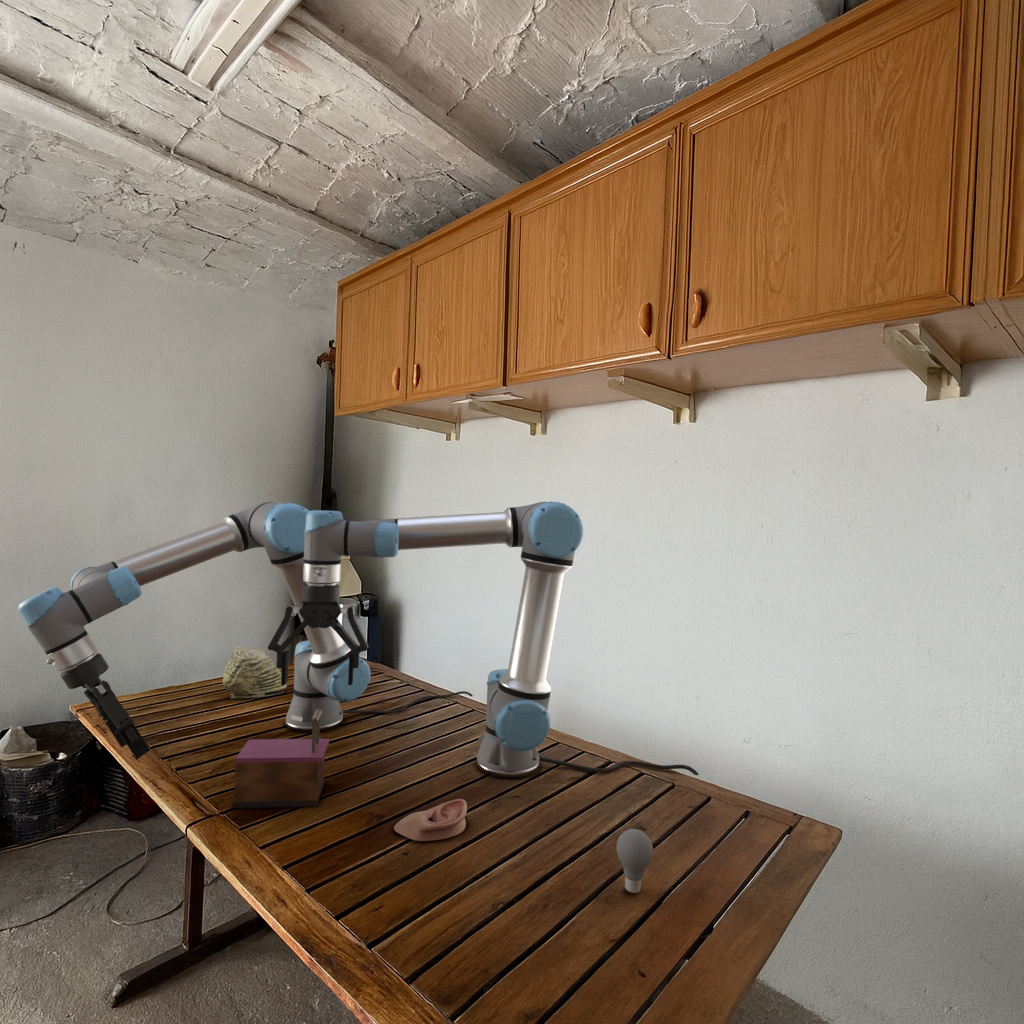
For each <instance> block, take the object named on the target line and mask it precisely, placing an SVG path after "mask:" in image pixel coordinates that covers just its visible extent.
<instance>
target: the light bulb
mask: <svg viewBox="0 0 1024 1024" xmlns="http://www.w3.org/2000/svg"><path fill="white" fill-rule="evenodd" d="M615 849H616V854H617V857H618V859H619V861H620V863H621V865H622V867H623V873H624V874H623V875H624V876H625V878H624V888H625V890H627V891H628V892H630V893H634V894H635V893H639V892H640V891H641V889H642V887H641V886H642V879H643V877H644V875H645V871H646V868H647V867H648V866H649V864H650V863H651V861H652V859H653V855H654V847H653V843H652V841H651V838H649V836H648V835H647V834H646V833H645V832H643V831H642V830H641V829H636V828H629V829H627V830H625V831H623V832H622V833H621V834H620V835H619V837H618V839H617V841H616V847H615Z"/></svg>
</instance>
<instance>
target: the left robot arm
mask: <svg viewBox="0 0 1024 1024" xmlns="http://www.w3.org/2000/svg"><path fill="white" fill-rule="evenodd" d="M310 511H311V510H309V509H308V508H306V507H304V506H302V505H299V504H297V503H294V502H276V501H265V502H260V503H257V504H255V505H251V506H250V507H247V508H245V509H242V510H240V511H237V512H235V513H232V514H229V515H227V516H225V517H224V518H223V520H222V522H220V523H216V524H214V525H211V526H208V527H205V528H202V529H199V530H197V531H194V532H191V533H188V534H186V535H183V536H179V537H176V538H174V539H171V540H168V541H165V542H163V543H160V544H156V545H154V546H152V547H148V548H145V549H142V550H140V551H138V552H134V553H131V554H128V555H126V556H122V557H120V558H117V559H114V560H111V561H109V562H106V563H102V564H100V565H97V566H86V567H83V568H81V569H79V570H78V571H76V572H75V573H74V575H73V576H71V580H70V590H68V591H63V590H61V589H60V587H58V586H54V587H51V588H48V589H46V590H43V591H42V592H39V593H37V594H35V595H33V596H31V597H29V598H27V599H24V600H23V601H21V602H20V603H19V605H18V606H17V611H18V613H19V614H20V616H21V618H22V620H23V622H24V623H25V625H26V627H27V628H28V630H29V631H30V632H31V634H32V636H33V637H34V639H36V642H37V643H38V644H39V646H40V647H41V649H42V650H43V652H44V653H45V655H47V657H48V658H49V659H47V660H46V663H47V665H53V666H54V668H55V669H56V671H57V672H61V673H60V674H59V675H60V678H61V680H62V681H63V682H64V684H65V685H66V687H67V688H68V689H69V690H74V689H78V688H80V687H82V688H83V690H84V691H83V694H84V695H85V697H86V698H87V699H88V700H89V702H90V703H91V704H92V705H93V707H94V708H95V710H96V712H97V714H98V716H99V717H100V718H101V719H102V721H104V723H105V725H106V726H107V728H108V730H109V731H110V732H111V734H112V736H113V738H114V739H115V740H116V742H117V743H118V746H120V747H121V748H123V747H126V746H127V747H128V750H129V751H130V752H131V753H132V756H133V757H134V758H135V759H136V760H138V759H140V758H141V757H143V756H144V755H146V754H147V753H148V752H150V751H151V748H150V747H149V745H148V744H147V742H146V741H145V739H144V738H143V736H142V734H141V733H140V731H139V730H138V728H137V727H136V726H135V723H134V719H133V718H132V717H131V716H130V715H129V713H128V712H127V710H126V709H125V708H124V706H123V705H122V703H121V702H120V700H119V699H118V697H117V696H116V694H115V692H114V691H113V690H112V687H111V685H110V683H109V682H108V681H106V680H105V679H103V680H102V679H101V678H100V676H101V675H103V674H104V673H106V672H107V671H108V670H109V664H108V662H107V661H106V660H105V657H104V656H103V654H101V653H100V652H98V651H99V648H98V646H97V645H96V642H94V639H93V638H92V637H91V635H90V633H89V632H88V631H87V630H86V628H85V626H86V625H89V624H90V623H92V622H95V621H96V620H98V619H101V618H102V617H104V616H107V615H108V614H110V613H112V612H114V611H116V610H118V609H121V608H122V607H124V606H129V604H130V603H132V602H133V601H135V600H137V599H139V598H140V596H142V588H141V587H142V586H145V585H147V584H150V583H153V582H155V581H157V580H161V579H163V578H166V577H168V576H171V575H173V574H177V573H178V572H179V573H180V572H182V571H183V570H187V569H190V568H192V567H194V566H197V565H200V564H202V563H205V562H207V561H210V560H213V559H216V558H219V557H220V556H224V555H226V554H229V553H231V552H234V551H235V552H237V553H243V552H245V551H248V550H251V549H257V548H265V551H266V554H267V556H268V558H269V561H270V563H271V565H272V566H274V567H277V568H278V569H280V571H281V574H282V576H283V579H284V582H285V584H286V587H287V589H288V591H289V594H290V597H291V600H292V602H293V604H294V605H293V606H295V607H301V606H302V595H303V586H304V584H306V582H304V581H303V569H304V539H305V533H304V531H305V526H306V515H307V513H308V512H310ZM297 615H298V618H299V620H300V623H302V622H303V621H304V619H303V617H302V616H301V615H300V613H297ZM337 620H338V621H339V622H340V620H339V617H337ZM303 630H304V634H305V635H306V638H307V640H303V641H300V642H297V644H296V645H295V650H294V655H293V656H294V672H293V695H292V696H293V697H292V699H291V702H290V704H289V708H288V711H287V713H286V715H285V726H286V728H287V729H289V730H291V731H294V732H295V731H296V732H301V733H312V724H311V720H312V717H313V715H314V713H315V711H316V710H317V709H321V710H322V714H321V716H320V732H325V731H329V730H332V729H335V728H337V727H339V726H340V725H342V723H343V722H344V714H380V715H381V714H382V715H383V714H385V715H387V714H395V713H399V712H402V711H404V710H405V709H406V708H408V707H410V706H413V705H414V704H415V703H417V702H420V701H423V700H427V699H439V698H450V697H453V696H457V695H463V694H464V695H467V696H469V697H473V696H474V695H473V694H472V693H471V692H469V691H464V690H463V691H456V692H453V693H448V694H438V695H437V694H435V695H427V696H422V697H418V698H416V699H414V700H412V701H411V702H409V703H407V704H405V705H403V706H402V707H399V708H396V709H393V710H366V709H365V710H364V709H363V710H360V709H359V710H352V709H351V710H343V709H342V706H341V703H350V702H353V701H354V700H356V699H358V698H359V697H361V695H362V694H363V693H364V692H365V691H366V690H367V688H368V684H369V683H370V681H371V669H370V665H369V664H368V663H367V661H365V659H364V658H362V657H359V666H358V668H354V672H353V683H352V685H348V676H349V654H350V652H351V649H350V648H349V647H348V646H347V644H346V643H345V642H344V641H343V640H342V638H341V637H340V636H339V635H338V634H337V632H336V631H335V630H333V628H332V627H331V626H330V627H327V628H321V627H318V628H312V627H310V626H308V625H307V626H306V627H305V628H304V629H303Z"/></svg>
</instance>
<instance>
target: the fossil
mask: <svg viewBox="0 0 1024 1024" xmlns="http://www.w3.org/2000/svg"><path fill="white" fill-rule="evenodd" d="M281 674H282V671H281V669H280V668H277V664H276V663H275V662H274V660H273V659H272V658H271V657H270V656H269V655H268V654H267V653H266V652H265V650H264V649H263V648H260V647H258V648H251V647H247V646H246V647H245V646H238V647H237V648H236V649H235V650H233V651H232V653H231V656H230V657H229V659H228V660H227V663H226V666H225V668H224V671H223V675H222V676H223V677H222V685H223V687H224V688H225V690H226V691H228V693H229V698H230V699H250V698H264V697H271V696H275V695H281V694H284V693H285V691H286V689H287V687H288V686H287V683H286V684H285V685H281Z"/></svg>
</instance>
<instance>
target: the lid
mask: <svg viewBox="0 0 1024 1024" xmlns="http://www.w3.org/2000/svg"><path fill="white" fill-rule="evenodd" d="M321 714H322V710H321V709H317V710H316V711H315V713H314V715H313V717H312V720H311V724H312V732H311V738H270V739H269V738H266V739H265V738H264V739H263V738H261V739H260V738H259V739H257V738H255V739H250V738H249V739H248V740H247V742H246V743H245V744H244V746H243V747H242V749H241V750H240V751H239V753H238V754H237V755H236V757H235V764H236V763H265V762H322V761H323V758H324V755H325V756H326V753H327V750H328V747H329V744H330V738H320V732H321V731H320V716H321Z"/></svg>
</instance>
